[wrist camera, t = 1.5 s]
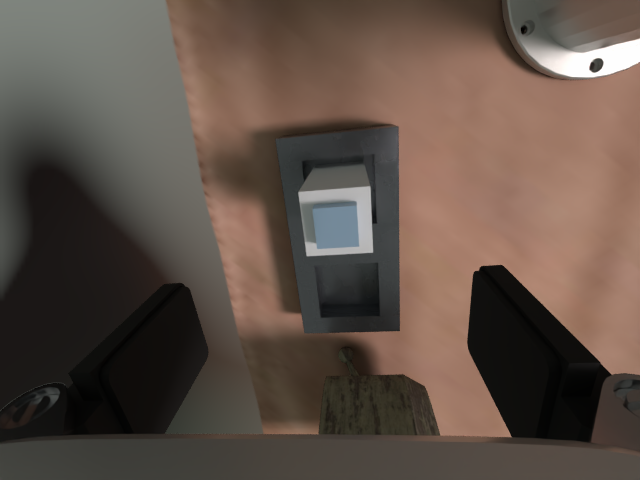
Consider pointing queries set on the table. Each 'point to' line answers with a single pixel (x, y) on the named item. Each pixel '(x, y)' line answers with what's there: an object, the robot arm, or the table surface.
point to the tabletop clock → (375, 404)
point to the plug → (337, 210)
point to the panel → (347, 269)
